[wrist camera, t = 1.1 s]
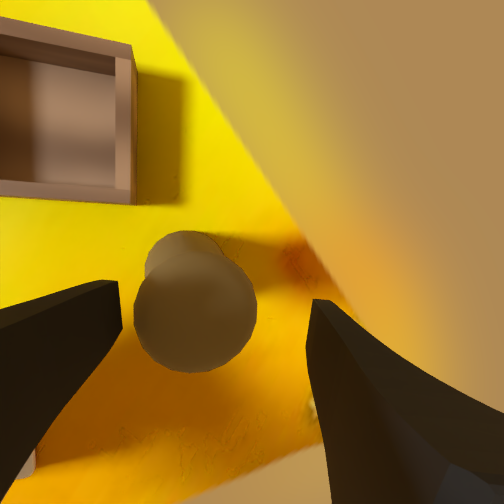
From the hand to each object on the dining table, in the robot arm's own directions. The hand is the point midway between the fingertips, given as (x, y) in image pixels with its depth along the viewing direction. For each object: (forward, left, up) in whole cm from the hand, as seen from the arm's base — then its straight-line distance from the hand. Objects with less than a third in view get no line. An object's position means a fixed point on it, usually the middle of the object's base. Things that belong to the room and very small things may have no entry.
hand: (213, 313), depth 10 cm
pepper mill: (-1, 0, -12) cm, 12 cm away
